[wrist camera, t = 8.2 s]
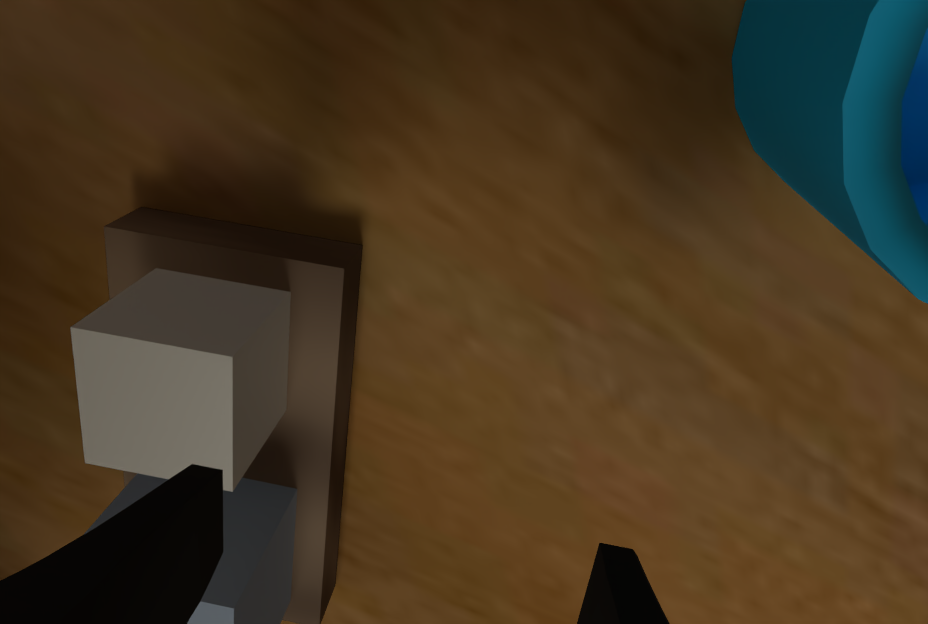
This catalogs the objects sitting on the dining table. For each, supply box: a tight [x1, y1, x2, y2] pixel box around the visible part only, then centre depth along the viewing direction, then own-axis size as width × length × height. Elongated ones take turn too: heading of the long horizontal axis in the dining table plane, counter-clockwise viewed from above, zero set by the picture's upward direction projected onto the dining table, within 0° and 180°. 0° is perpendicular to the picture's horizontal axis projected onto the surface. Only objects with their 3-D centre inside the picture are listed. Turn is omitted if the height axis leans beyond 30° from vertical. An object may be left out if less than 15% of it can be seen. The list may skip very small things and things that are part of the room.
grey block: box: [70, 268, 291, 492], centre depth 20 cm, size 4×4×4 cm
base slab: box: [104, 207, 362, 624], centre depth 24 cm, size 14×7×2 cm, turn 172°
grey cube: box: [85, 473, 297, 624], centre depth 22 cm, size 5×5×5 cm
